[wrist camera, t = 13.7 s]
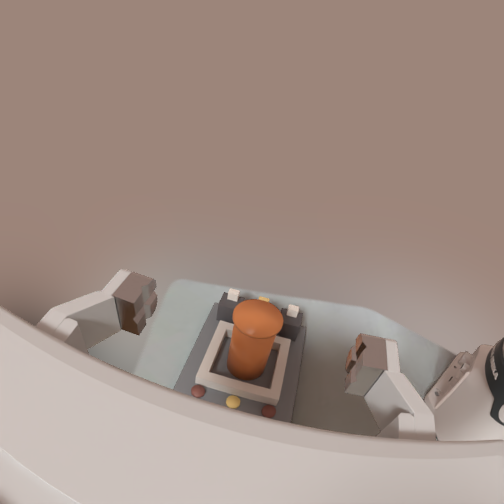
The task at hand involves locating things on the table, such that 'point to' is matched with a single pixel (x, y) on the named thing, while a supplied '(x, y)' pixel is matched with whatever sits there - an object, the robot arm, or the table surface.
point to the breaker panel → (236, 390)
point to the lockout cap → (252, 337)
